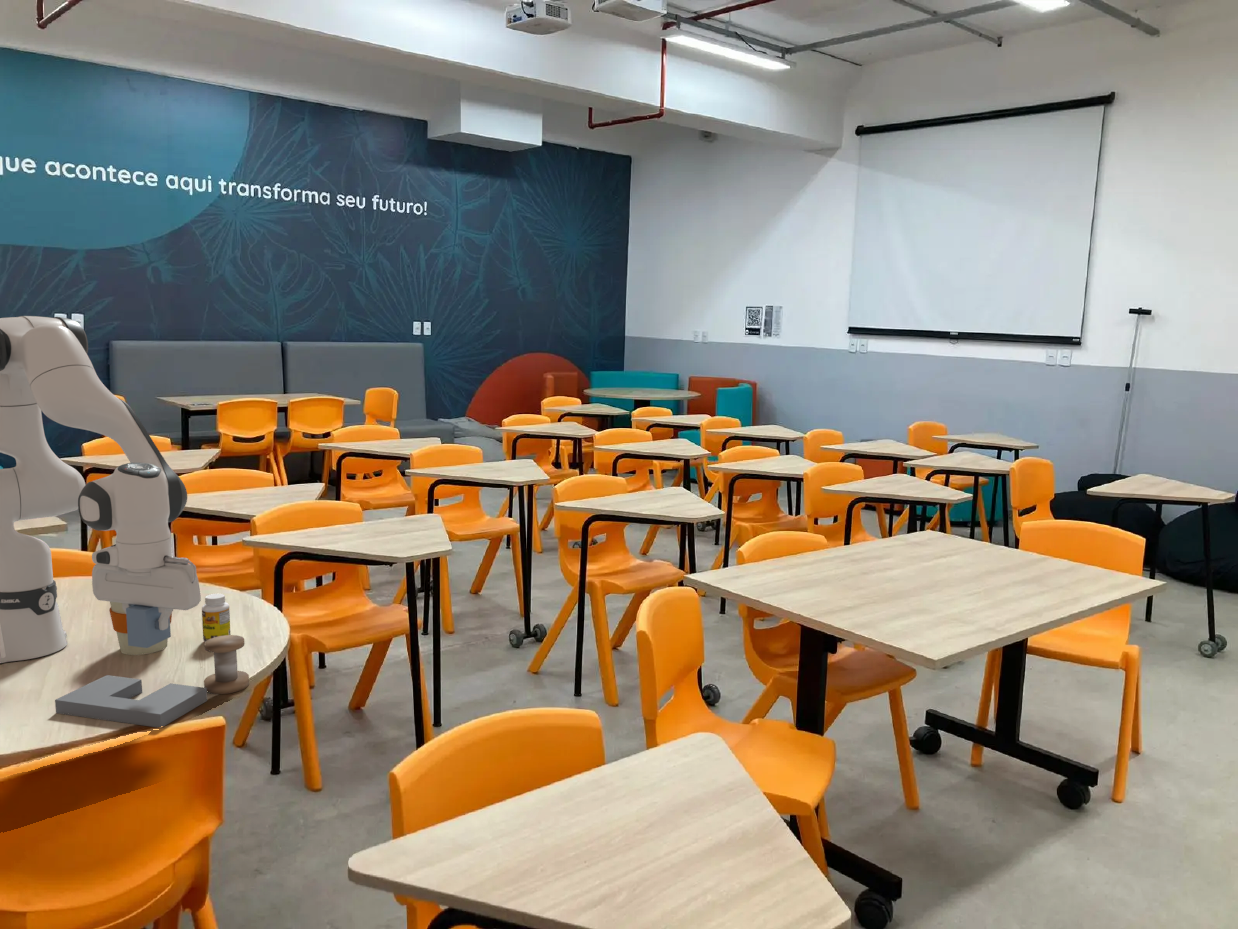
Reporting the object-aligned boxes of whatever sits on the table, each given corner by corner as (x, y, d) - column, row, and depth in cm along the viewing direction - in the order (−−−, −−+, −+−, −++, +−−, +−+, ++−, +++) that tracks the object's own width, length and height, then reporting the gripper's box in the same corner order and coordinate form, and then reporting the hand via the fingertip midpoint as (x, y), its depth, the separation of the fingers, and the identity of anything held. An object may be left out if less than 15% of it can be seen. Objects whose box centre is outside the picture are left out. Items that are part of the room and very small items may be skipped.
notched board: (56, 713, 164) (54, 699, 164) (107, 687, 176) (106, 675, 175) (161, 728, 159) (160, 714, 159) (207, 700, 171) (206, 688, 170)
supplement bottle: (197, 642, 201) (195, 597, 199) (219, 634, 206) (217, 590, 204) (214, 647, 198) (212, 601, 197) (236, 639, 203) (234, 594, 201)
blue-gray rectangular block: (128, 645, 165) (125, 608, 164) (152, 634, 171) (150, 598, 170) (147, 648, 164) (145, 610, 163) (170, 636, 170) (168, 600, 169)
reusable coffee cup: (149, 660, 190) (145, 590, 187) (96, 655, 192) (91, 586, 190) (189, 640, 202) (185, 574, 199) (139, 635, 204) (135, 570, 202)
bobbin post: (195, 691, 175) (192, 646, 173) (222, 676, 182) (220, 632, 181) (231, 696, 173) (229, 650, 171) (257, 680, 181) (255, 636, 179)
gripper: (206, 554, 165) (210, 627, 168) (110, 544, 170) (115, 616, 172) (182, 563, 159) (186, 639, 162) (83, 553, 164) (88, 627, 166)
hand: (148, 627), depth 167 cm, fingers closed on blue-gray rectangular block, 4 cm apart
